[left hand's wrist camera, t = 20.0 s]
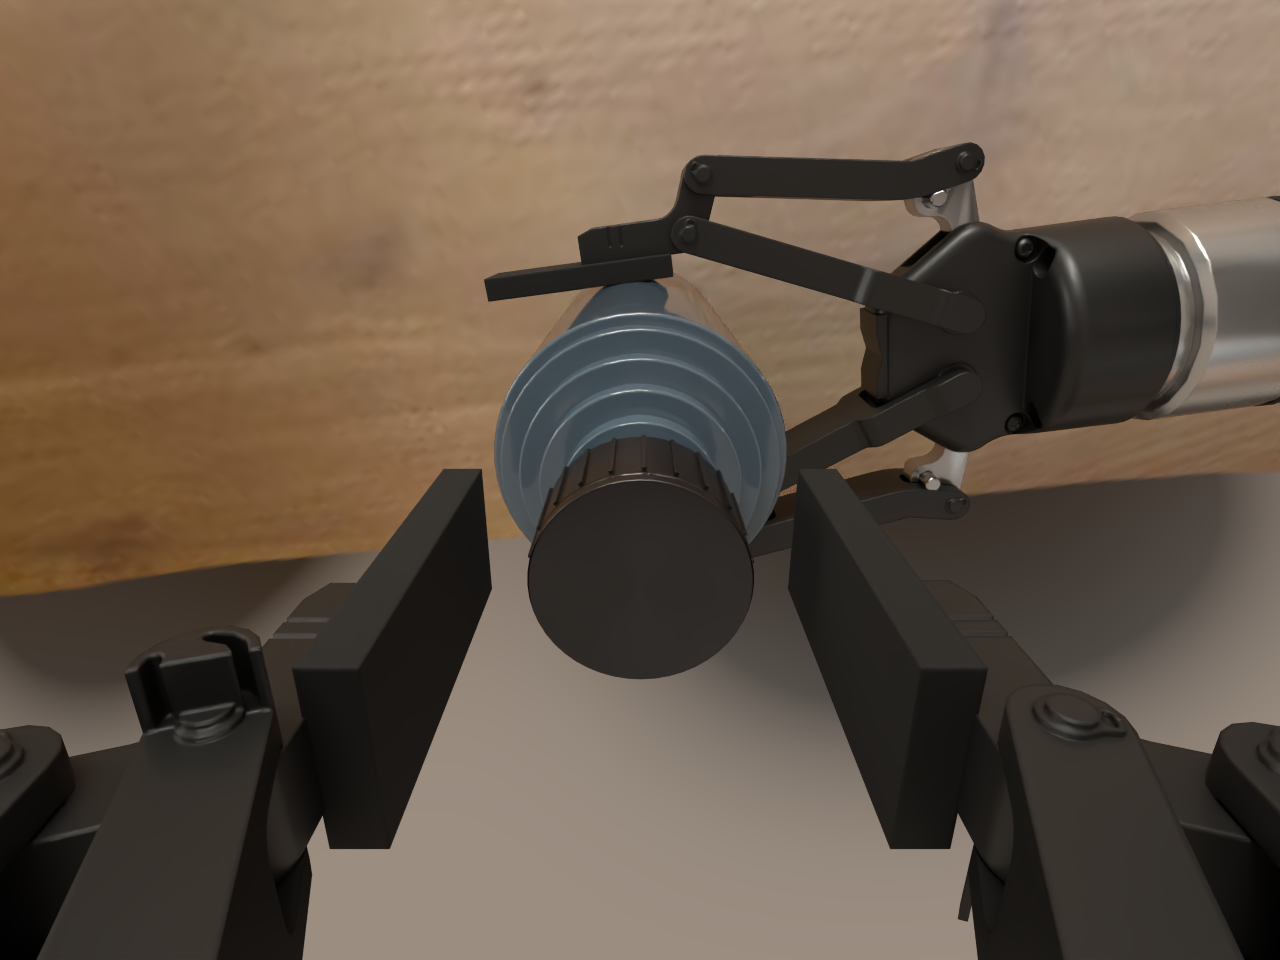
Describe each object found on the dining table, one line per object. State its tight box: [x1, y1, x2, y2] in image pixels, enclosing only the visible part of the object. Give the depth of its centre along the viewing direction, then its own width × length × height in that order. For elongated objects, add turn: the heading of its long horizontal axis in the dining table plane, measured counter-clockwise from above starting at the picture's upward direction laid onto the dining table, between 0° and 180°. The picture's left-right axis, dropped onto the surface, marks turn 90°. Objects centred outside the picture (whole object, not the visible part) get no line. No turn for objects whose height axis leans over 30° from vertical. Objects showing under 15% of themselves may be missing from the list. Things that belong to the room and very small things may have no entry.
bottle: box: [494, 273, 787, 544], centre depth 23 cm, size 8×8×22 cm
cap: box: [528, 435, 754, 679], centre depth 13 cm, size 4×4×2 cm
